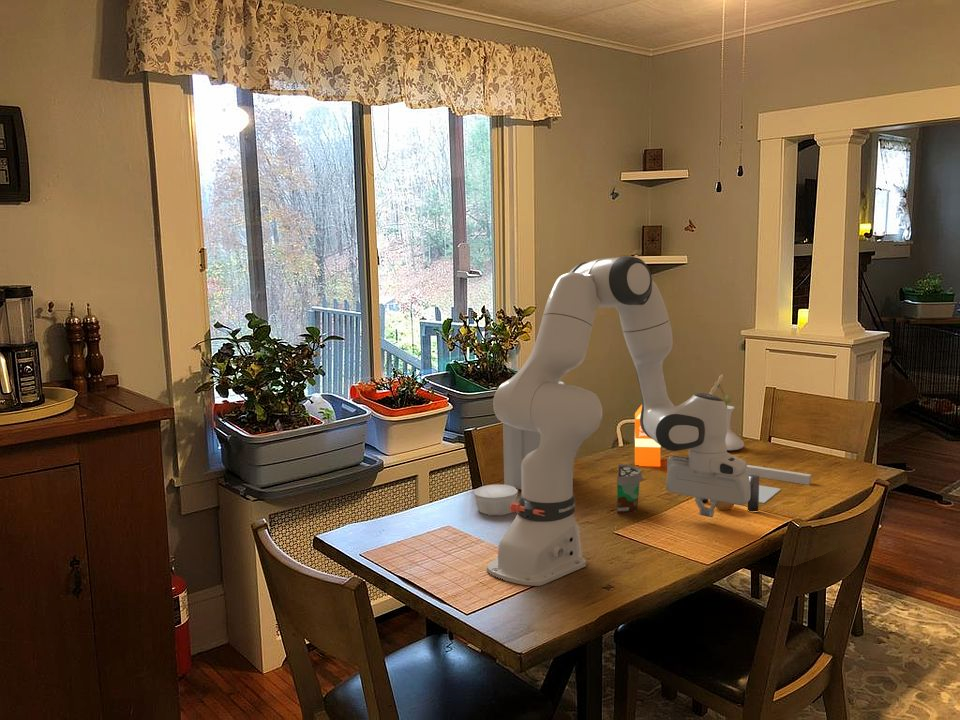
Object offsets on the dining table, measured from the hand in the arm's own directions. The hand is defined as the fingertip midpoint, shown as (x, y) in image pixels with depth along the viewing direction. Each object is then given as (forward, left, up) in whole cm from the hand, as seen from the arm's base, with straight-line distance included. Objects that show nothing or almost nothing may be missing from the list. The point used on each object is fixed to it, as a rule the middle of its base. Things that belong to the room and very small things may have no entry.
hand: (706, 515), depth 197 cm
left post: (+14, +7, -2) cm, 16 cm away
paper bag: (+4, +49, -2) cm, 49 cm away
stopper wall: (+44, 0, -2) cm, 44 cm away
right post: (+14, -6, -2) cm, 16 cm away
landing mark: (+28, 0, -2) cm, 28 cm away
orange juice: (+40, +35, -2) cm, 53 cm away
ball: (+11, 0, +1) cm, 11 cm away
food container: (-1, +20, -2) cm, 20 cm away
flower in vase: (+67, +21, -2) cm, 70 cm away
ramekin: (-21, +48, -2) cm, 52 cm away
